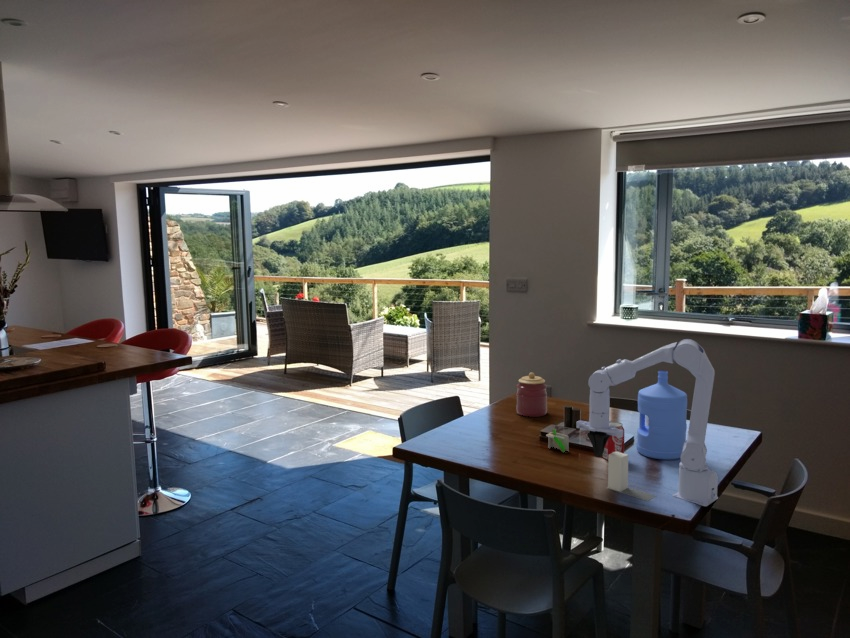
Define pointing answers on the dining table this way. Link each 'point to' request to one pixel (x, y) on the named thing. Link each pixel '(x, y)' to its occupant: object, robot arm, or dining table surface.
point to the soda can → (614, 442)
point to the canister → (531, 396)
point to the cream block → (618, 471)
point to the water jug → (662, 420)
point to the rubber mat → (636, 494)
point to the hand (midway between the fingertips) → (598, 455)
